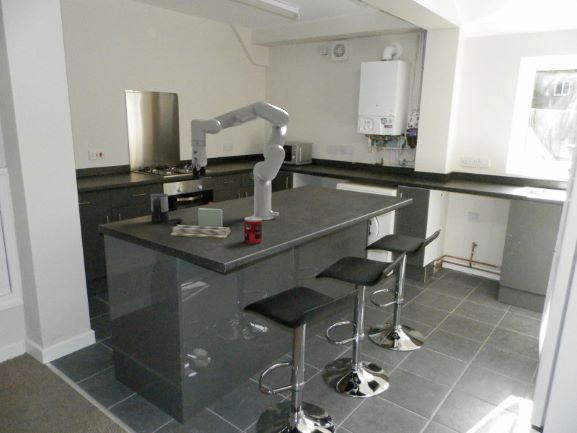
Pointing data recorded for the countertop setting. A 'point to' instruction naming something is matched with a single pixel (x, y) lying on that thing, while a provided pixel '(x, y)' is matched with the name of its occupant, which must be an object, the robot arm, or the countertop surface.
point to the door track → (200, 231)
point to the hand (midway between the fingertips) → (199, 176)
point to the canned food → (252, 230)
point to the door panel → (210, 217)
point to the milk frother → (161, 209)
